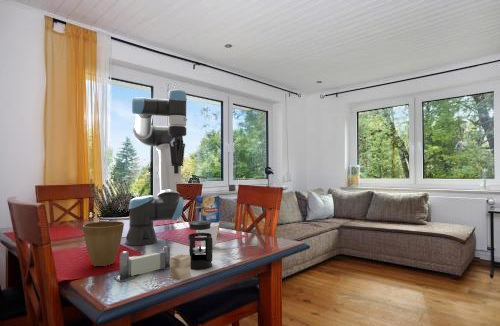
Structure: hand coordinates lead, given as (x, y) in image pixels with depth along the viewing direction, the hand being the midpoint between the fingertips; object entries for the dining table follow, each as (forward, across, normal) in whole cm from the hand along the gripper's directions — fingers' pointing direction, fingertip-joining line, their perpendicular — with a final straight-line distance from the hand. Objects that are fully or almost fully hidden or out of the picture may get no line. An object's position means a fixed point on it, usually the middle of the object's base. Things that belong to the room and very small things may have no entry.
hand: (177, 181), depth 134 cm
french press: (+33, -11, -14) cm, 37 cm away
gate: (+32, -21, +3) cm, 38 cm away
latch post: (+32, -14, -2) cm, 35 cm away
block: (+33, -23, -10) cm, 41 cm away
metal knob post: (+32, -26, +7) cm, 42 cm away
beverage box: (+33, +43, -1) cm, 54 cm away
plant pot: (+33, -14, +25) cm, 43 cm away
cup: (+33, +17, -9) cm, 38 cm away
